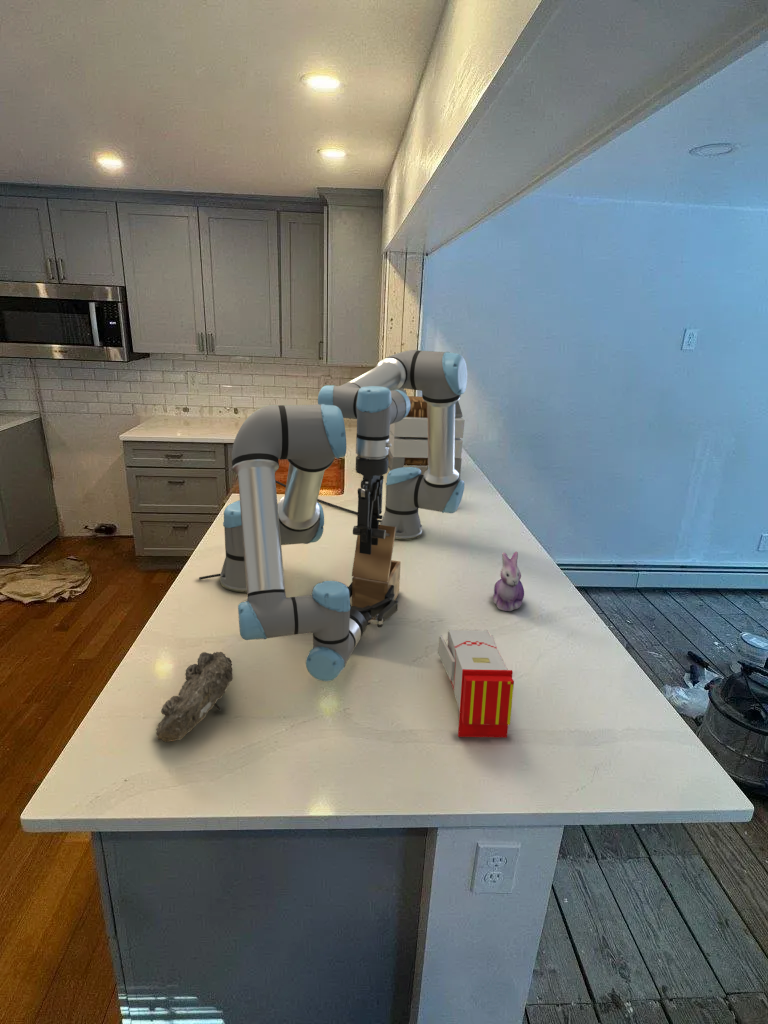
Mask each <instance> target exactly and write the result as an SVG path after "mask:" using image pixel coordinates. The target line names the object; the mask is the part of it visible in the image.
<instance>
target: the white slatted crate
mask: <svg viewBox="0 0 768 1024" xmlns="http://www.w3.org/2000/svg"><path fill="white" fill-rule="evenodd" d="M397 390H400V391H403V392H404V393H405V394H406V395H407V394H408V393H407V389H397ZM407 396H408V397H409V400H410V405H411V407H410V411H409V413H408V415H407V416H406V417H405V418H403V419H402V420H401V421H399V422H395V423H393V424H390V433H389V443H391V447H389V452H388V455H387V457H388V468H389V472H390V471H391V470H393V469H397V468H403V467H405V466H406V467H417V466H418V467H428V421H427V403H426V402H425V401H424V400H423V399H422V396H415V395H414V396H413V395H412V396H411V395H407ZM464 429H465V419H464V418H463V411H462V408H461V405H460V402H459V400H458V401H457V402H456V403H455V457H454V469H455V470H456V471H457V472H458V473H459V480H461V472H462V461H463V460H462V453H463V442H464V441H463V440H462V439H463V438H464V431H465V430H464Z"/></svg>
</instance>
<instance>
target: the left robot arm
mask: <svg viewBox="0 0 768 1024" xmlns="http://www.w3.org/2000/svg"><path fill="white" fill-rule="evenodd" d="M344 419H345V418H343V415H342V412H341V410H340V409H339V407H337V406H334V405H324V404H321V405H318V404H283V405H282V404H281V405H280V404H269V405H264V406H262V407H260V408H259V409H256V410H255V411H254V412H252V413H251V414H249V416H248V417H247V418H246V419H245V420H244V422H243V423H242V424H241V425H240V427H239V429H238V431H237V434H236V436H235V439H234V442H233V444H232V448H231V469H232V470H231V471H233V473H234V474H236V475H237V481H238V493H239V495H238V496H239V500H236V501H233V502H232V503H229V504H228V505H227V506H226V507H225V509H224V511H223V522H222V526H223V528H224V529H223V530H224V547H225V548H224V551H225V557H224V558H225V559H224V561H223V563H222V567H221V570H220V571H221V572H220V573H215V574H210V575H204V576H199V577H198V579H199V580H200V581H201V580H206V579H211V578H212V579H213V578H218V577H219V580H220V586H221V587H222V588H224V589H226V590H228V591H231V592H236V593H246V600H245V601H242V602H240V603H238V606H237V613H238V627H239V629H238V630H239V635H240V637H241V639H243V640H245V641H253V640H255V641H256V640H267V639H273V638H280V637H287V636H293V635H294V636H296V635H297V636H298V635H304V634H312V648H311V649H310V650H309V651H308V654H307V657H306V660H305V667H306V670H307V671H308V673H309V675H310V676H312V677H313V678H314V679H316V680H317V681H321V682H330V681H333V680H336V679H337V678H338V676H339V675H340V674H341V672H342V671H344V669H345V667H346V664H347V663H348V661H349V659H350V657H351V655H352V654H353V652H354V650H355V649H356V647H357V646H358V643H359V642H360V640H361V638H362V636H363V635H364V633H365V632H366V630H367V627H368V626H370V625H371V624H374V625H375V624H376V627H377V628H382V627H383V626H384V625H383V624H384V623H385V622H386V621H388V620H389V619H390V618H391V617H392V616H393V615H394V614H396V613H397V611H398V608H399V601H398V600H397V599H396V600H394V599H395V594H394V585H391V587H390V588H389V590H388V592H387V593H386V595H385V599H384V600H382V601H380V602H378V603H376V604H374V605H372V606H369V605H368V606H366V607H364V608H361V607H356V606H352V603H351V598H352V582H350V584H349V585H348V586H347V585H346V584H345V583H343V582H341V581H337V580H324V581H322V582H318V583H316V584H314V586H313V588H312V592H311V594H306V595H298V596H288V597H287V594H286V584H285V572H284V571H285V570H284V561H283V549H282V546H289V545H299V544H301V545H308V544H311V543H317V542H319V541H320V540H321V538H322V536H323V534H324V526H325V513H324V509H323V506H322V503H320V502H318V501H317V500H318V499H319V495H320V491H321V487H322V484H323V479H324V474H325V471H326V470H327V469H329V468H330V467H331V466H332V465H333V463H334V461H335V459H336V460H337V459H338V460H339V459H340V458H344V457H345V456H346V455H347V435H346V434H347V433H346V424H345V420H344ZM281 460H287V461H288V463H289V464H288V469H287V470H288V471H287V476H286V477H287V478H286V484H285V485H286V487H285V490H284V495H283V496H282V497H281V498H280V499H279V501H278V493H277V483H276V481H277V480H276V472H277V471H278V470H279V468H280V463H279V461H281ZM275 480H276V481H275Z"/></svg>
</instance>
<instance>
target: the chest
mask: <svg viewBox="0 0 768 1024" xmlns="http://www.w3.org/2000/svg"><path fill="white" fill-rule="evenodd" d="M401 563H402V562H401V561H400V560H393V559H391V566H390V574H389V581H388V582H384V581H378V580H372V579H365V578H359V577H353V576H352V578H351V583H352V596H351V606H356V607H361V608H364V607H366V606H368V605H369V606H372V605H374V604H376V603H378V602H380V601H382V600H384V599H385V595H386V593H387V592H388V590H389V588H390V587H391V585H394V594H395V599H394V600H397V597H398V596H399V594H400V584H401V583H400V582H401V581H400V580H401Z"/></svg>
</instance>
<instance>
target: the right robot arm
mask: <svg viewBox="0 0 768 1024" xmlns="http://www.w3.org/2000/svg"><path fill="white" fill-rule="evenodd" d="M467 366H468V365H467V362H466V360H465V358H464V356H463V355H461V354H460V353H456V352H451V351H437V350H436V351H434V350H419V349H409V350H404V351H400V352H397V353H394V354H392V355H389V356H386V357H385V358H383V359H381V360H380V361H379V362H378V363H377V364H376V366H375V367H374V368H372V369H370V370H368V371H366V372H364V373H363V374H361V375H358V376H356V377H355V378H353V379H351V380H349V381H347V382H345V383H344V384H341V385H335V384H332V385H330V384H327V385H323V386H322V387H321V388H320V390H319V391H318V395H317V405H321V404H324V405H334V406H337V407H339V409H340V410H341V412H342V415H343V419H351V420H356V436H355V454H356V456H355V472H356V473H357V474H360V475H361V476H362V480H361V481H360V488H359V487H358V488H357V511H355V510H352V509H348V508H346V507H342V506H340V505H337V504H334V503H330V502H327V501H325V500H322V499H319V498H318V500H317V502H318V503H320V504H324V505H326V506H329V507H332V508H336V509H339V510H342V511H345V512H347V513H350V514H354V515H357V520H356V521H357V522H356V525H355V526H356V528H358V529H360V551H359V553H363V554H369V555H370V554H371V545H378V538H373V537H372V528H374V529H379V525H385V526H392V527H396V531H395V538H394V541H410V540H415V539H418V538H420V537H421V536H422V535H423V525H422V524H421V518H420V515H419V509H422V510H427V511H433V512H439V513H442V514H444V513H445V514H454V513H456V512H457V511H458V509H459V508H460V504H461V502H462V499H463V496H464V493H465V492H464V491H465V481H464V480H462V479H460V480H459V473H458V472H457V471H456V470H455V469H454V457H455V403H456V402H457V401H458V402H459V400H460V399H461V396H462V395H463V394H464V393H466V390H467V387H468V367H467ZM397 389H404V390H413V391H419V392H421V397H422V399H423V400H424V401H425V402H426V403H427V421H428V466H427V470H424V473H423V474H422V470H421V468H419V467H416V466H404V467H403V468H397V469H393V470H391V471H390V470H389V467H388V457H387V455H388V452H389V447H391V443H389V433H390V424H393V423H395V422H399V421H401V420H402V419H403V418H405V417H406V416H407V415H408V413H409V411H410V407H411V405H410V400H409V397H408V396H409V395H406V394H405V393H404V392H403V391H400V390H397ZM384 475H386V482H385V504H384V505H385V507H384V508H385V509H384V513H383V515H382V512H383V484H384V479H385V476H384ZM275 481H276V484H278V485H280V486H282V487H283V488H286V484H284V483H283V482H281V481H278V480H277V479H275Z"/></svg>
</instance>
